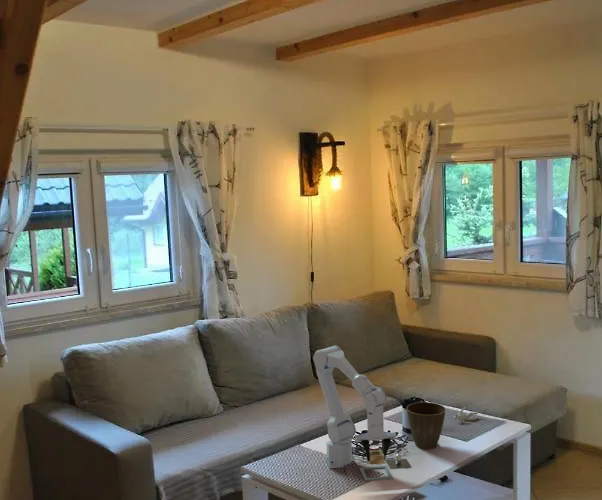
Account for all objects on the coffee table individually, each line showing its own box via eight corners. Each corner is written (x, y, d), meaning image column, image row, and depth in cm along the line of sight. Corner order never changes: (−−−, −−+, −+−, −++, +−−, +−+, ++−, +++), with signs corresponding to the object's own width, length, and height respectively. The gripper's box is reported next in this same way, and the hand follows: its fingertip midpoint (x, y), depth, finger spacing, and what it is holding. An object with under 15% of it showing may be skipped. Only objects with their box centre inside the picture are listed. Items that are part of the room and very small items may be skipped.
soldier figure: (483, 424, 305) (463, 421, 299) (475, 429, 308) (455, 426, 302) (477, 407, 310) (457, 404, 304) (469, 413, 313) (450, 409, 307)
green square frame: (365, 483, 249) (365, 479, 249) (359, 471, 259) (359, 467, 259) (393, 481, 250) (393, 477, 250) (386, 469, 260) (386, 465, 260)
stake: (390, 471, 258) (390, 459, 258) (385, 462, 266) (385, 451, 266) (411, 470, 259) (411, 458, 259) (406, 461, 267) (406, 449, 267)
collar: (370, 464, 251) (370, 456, 251) (367, 458, 256) (367, 450, 256) (384, 463, 252) (384, 455, 251) (381, 457, 257) (381, 449, 256)
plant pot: (431, 437, 289) (431, 399, 287) (453, 450, 275) (453, 410, 273) (400, 444, 283) (399, 405, 281) (420, 457, 269) (420, 417, 268)
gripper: (357, 428, 248) (358, 465, 249) (398, 425, 249) (398, 462, 251) (353, 421, 255) (354, 457, 256) (393, 418, 256) (393, 454, 258)
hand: (375, 459), depth 254 cm, fingers closed on collar, 5 cm apart
